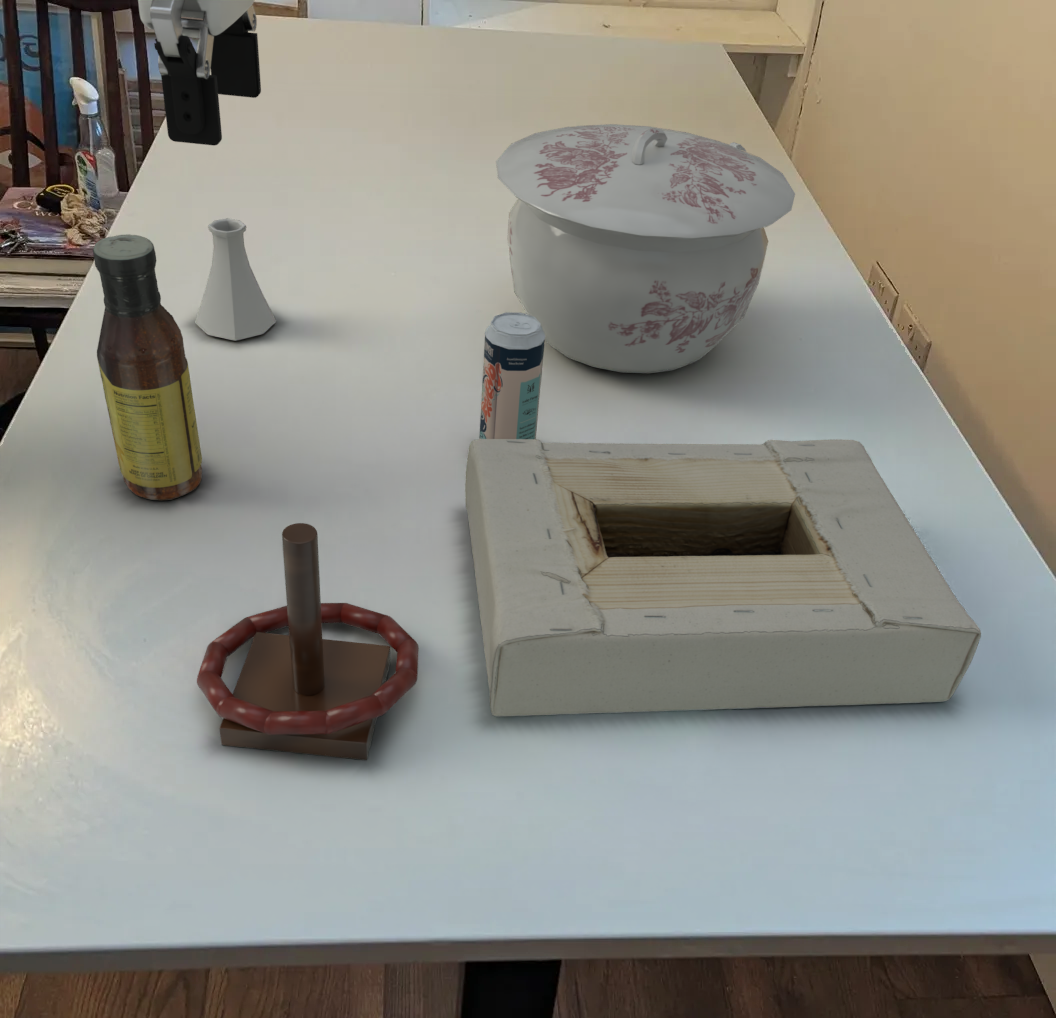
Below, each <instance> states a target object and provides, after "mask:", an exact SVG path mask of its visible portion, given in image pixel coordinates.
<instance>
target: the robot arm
mask: <svg viewBox="0 0 1056 1018" xmlns="http://www.w3.org/2000/svg"><path fill="white" fill-rule="evenodd" d="M137 2H138V12H139V18H140V21H141V22H142V24H143V25H144V26H145V27H146V28H147V29H149V30H153V32H154V34H155V37H156V38H155V39H154V41H155V42H154V45H153V46H154V49H155V51H156V52H157V55H158V57H157V58H158V59H157V64H158V67H157V68H158V72H159V74H160V79H161V86H162V95H163V102H164V112H165V113H164V114H165V119H166V121H165V122H166V129H167V130H166V131H167V136H168V138H169V140H170V141H172V142H175V143H186V144H195V145H206V146H218V145H219V144H220V143H221V141H222V140H223V133H222V124H221V121H222V120H221V111H220V100H219V99H220V98H219V95H221V96H222V95H223V96H233V97H241V98H243V97H244V98H253V99H256V98H258V97H259V95H260V94H261V93H262V86H261V69H260V67H261V66H260V55H259V40H258V39H259V37H258V32H256V30H257V26H258V19H257V13H256V10H255V7H254V3H255V2H256V0H137ZM190 38H195V39H198V40H197V48H196V49H195V46H194V44H193V41H191V39H190Z"/></svg>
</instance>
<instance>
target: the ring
mask: <svg viewBox="0 0 1056 1018" xmlns="http://www.w3.org/2000/svg"><path fill="white" fill-rule="evenodd" d="M321 617H322V624H345V625H348V626H351V627H353V628H357V629H360V630H363V631H367V632H369V633H373V634H377V635H379V637H381V638H382V639H383V640H384V641H385V642H386V643H387V645H388V646H390V648H392V650H394V651H395V652H396V662H395V672H394V674H392V675H391V676H390V677H389V678H388V679H386V682H385V683H384V684H383V685H382V686H381V687H380V688H378V689H377V690H376V691H375V692H374V693H373V694H372V695H370V696H367V697H364V698H361V699H358V700H355V701H352V702H350V703H347V704H344V705H341V706H338V707H335V708H332V709H329V710H326V711H271V710H268V709H266V708H263V707H260V706H257V705H254V704H252V703H249V702H246V701H243V700H240V699H238V698H235V697H234V695H233V692H232V691H231V690H230V688H229V686H228V685H226V683H225V682H224V680H223V679H222V676H223V673H224V669H225V665H226V662H227V660H228V657H230V656H231V655H232V654H234V653H235V652H236V651H237V650H239V649H240V648H241V647H243V646H244V645H246V644H247V643H248V642H249V641H251V640H252V639H254V637H255V634H256V632H261V633H271V632H274V631H278V630H281V629H284V628H287V627H288V613H287V605H283V606H279V607H276V608H273V609H269V610H267V611H264V612H260V613H256V614H252V615H250V616H245V617H243V619H241V620H240V621H238V622H237V623H236V624H234V625H232V626H231V627H230V628H229V629H227V630H226V631H225V632H223V633H222V634H220V635H218V637H216V638H215V639H214V640H212V641H211V642H209V644H208V645H207V647H206V650H205V652H204V655H203V658H202V661H201V665H200V668H199V670H198V674H197V677H196V684H197V686H198V688H199V690H200V691H201V692H202V694H203V695H204V697H205V698H206V700H207V702H209V704H210V705H211V707H212V708H213V710H214V711H215V712H216V714H217V715H218V717H220V718H222V719H223V718H224V719H227V720H230V721H232V722H235V723H238V724H241V725H243V726H246V727H249V728H252V729H254V730H257V731H260V732H262V733H265V734H268V735H299V734H331V733H334V732H337V731H339V730H342V729H345V728H348V727H351V726H354V725H357V724H359V723H362V722H365V721H368V720H371V719H374V718H377V719H378V718H379V717H382V716H384V715H386V714H387V713H388V712H389V711H390V709H392V708H393V707H394V705H396V704H397V703H398V702H399V701H400V700H401V699H402V698H403V697H404V696H405V695H406V694H407V693H408V692H409V691H410V690H411V689H412V688H414V686H415V685H416V684H417V682H418V673H419V653H420V652H419V651H420V648H419V643H418V642H417V641H416V640H415V639H414V637H412V636H411V635H410V634H409V633H408V632H407V631H406V630H405V629H404V628H403V627H402V626H401V625H400V624H399V622H397V621H396V620H395V619H394V618H393V617H391V616H390V615H388V614H384V613H380V612H378V611H374V610H371V609H368V608H364V607H361V606H358V605H355V604H351V603H348V602H321ZM288 628H289V627H288Z"/></svg>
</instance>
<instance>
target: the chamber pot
mask: <svg viewBox="0 0 1056 1018" xmlns="http://www.w3.org/2000/svg"><path fill="white" fill-rule="evenodd" d="M495 165H496V175H497V179H498V180H499V181H500V182H501V183H502V184H503V185H504V187H505V188H507V189H508V190H509V191H510V193H511V194H512V195H513V196H514V197H515V198H516V201H515V203H514V204H513V205H512V207H511V209H510V210H509V211H508V219H507V221H508V222H507V236H506V237H507V239H506V240H507V248H508V256H509V264H510V270H511V278H512V286H513V292H514V294H515V296H516V297H517V300H518V301H519V303H520V305H521V307H522V308H523V310H524V312H525V314H527V315H530V316H533V317H535V318H536V319H537V320H538V321H539V322H540V323H541V327H542V329H543V331H544V333H545V342H546V343H547V344H548V346H550V348H552V349H553V350H555V351H557V352H558V353H560V354H561V355H563V356H565V357H567V358H568V359H570V360H572V361H576V362H578V363H581V364H584V365H586V366H589V367H592V368H595V369H601V370H607V371H613V372H617V373H627V374H629V373H631V374H653V373H662V372H663V373H664V372H669V371H676V370H679V369H681V368H683V367H686V366H689V365H691V364H695V363H696V362H698V361H699V360H701V359H703V358H704V357H705V356H706V355H707V354H709V353H710V352H711V351H712V350H713V349H714V348H716V347H717V346H718V344H719V343H721V341H722V340H723V339H724V338H725V337H726V336H727V335H728V334H730V332H732V330H734V328H735V327H736V326H737V325H738V324H739V323H740V322H741V321H742V320H743V319H744V318H745V315H746V313H747V310H748V308H749V306H750V304H751V301H752V299H753V297H754V295H755V292H756V290H757V288H758V286H759V283H760V279H761V276H762V272H763V269H764V265H765V259H766V255H767V250H768V246H769V238H768V235H767V233H766V229H765V228H768V227H769V226H771V225H773V224H775V223H776V222H778V221H779V220H780V219H782V218H783V217H785V216H786V215H787V214H788V213H790V212H791V211H792V209H793V205H794V201H795V196H796V192H795V191H794V189H793V187H792V186H791V184H790V183H789V181H788V180H787V177H786V176H785V175H784V173H783V172H782V171H780V170H779V169H777V168H776V167H775V166H774V165H772V164H770V163H769V162H768V161H766V160H764V159H762V157H760V156H758V155H755V154H754V153H753V154H752V153H750V152H748V151H747V150H746V148H745V147H744V146H743V145H742V144H741V143H737V142H735V141H733V142H730V143H725V142H722V141H720V140H716V139H712V138H709V137H705V136H702V135H698V134H694V133H690V132H687V131H682V130H675V129H670V128H669V129H668V128H663V127H656V126H649V125H633V124H618V123H616V124H614V123H607V124H606V123H605V124H588V125H575V126H564V127H560V128H554V129H549V130H544V131H539V132H535V133H532V134H530V135H528V136H525V137H523V138H521V139H519V140H516V141H514V142H512V143H510V144H509V146H507V147H506V149H505V150H504V151H503V152H502V153H501V154H500V156H499V157H498V158H497V159H496V160H495Z"/></svg>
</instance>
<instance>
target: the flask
mask: <svg viewBox="0 0 1056 1018" xmlns="http://www.w3.org/2000/svg"><path fill="white" fill-rule="evenodd" d="M207 228H208V230H209V232H210V233H211V235H212V245H213V248H212V256H211V257H212V258H211V266H210V269H209V273H208V276H207V277H208V278H207V281H206V284H205V288H204V292H203V295H202V297H201V300H200V301H201V302H200V305H199V308H198V310H197V313H196V317H195V321H194V323H195V324H196V325H197V326H198V327H199V328H200V329H201V330H202V331H203V332H204V333H206V335H207V336H211V337H216V338H222V339H226V340H230V341H241V340H244V339H249V338H254V337H256V336H260V335H264V334H265V333H266V332H267V331H268V330H269V329H270V328H271V327H272V326H274V324H276V323H277V320H276V318H275V316H274V314H273V312H272V309H271V308H270V305H269V303H268V301H267V300H266V297H265V295H264V294H263V291H262V289H261V287H260V285H259V283H258V280H257V278H256V276H255V273H254V272H253V269H252V267H251V264H250V261H249V257H248V255H247V254H248V253H247V250H246V247H245V237H244V233H245V232H246V231H247V225H246V224H245V223H244V222H242V221H241V220H240V219H234V218H231V217H230V218H229V217H227V218H226V217H225V218H220V219H214V221H212V222H211V223H209V224H208V225H207Z"/></svg>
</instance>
